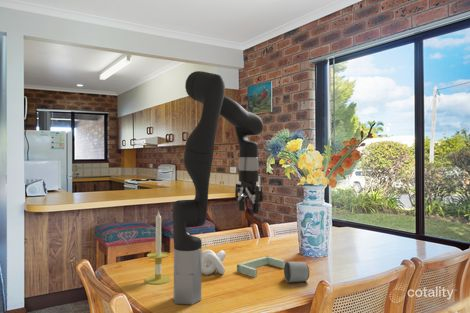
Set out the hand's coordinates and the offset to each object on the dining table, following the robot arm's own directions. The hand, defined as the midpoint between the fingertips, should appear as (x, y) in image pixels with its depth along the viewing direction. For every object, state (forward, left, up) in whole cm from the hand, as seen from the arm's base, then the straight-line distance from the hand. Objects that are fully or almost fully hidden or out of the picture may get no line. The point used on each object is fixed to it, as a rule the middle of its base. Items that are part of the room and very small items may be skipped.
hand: (248, 212), depth 137 cm
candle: (-1, +35, -27) cm, 44 cm away
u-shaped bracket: (+17, -4, -27) cm, 32 cm away
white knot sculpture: (+10, +15, -27) cm, 32 cm away
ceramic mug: (+6, -18, -27) cm, 33 cm away
